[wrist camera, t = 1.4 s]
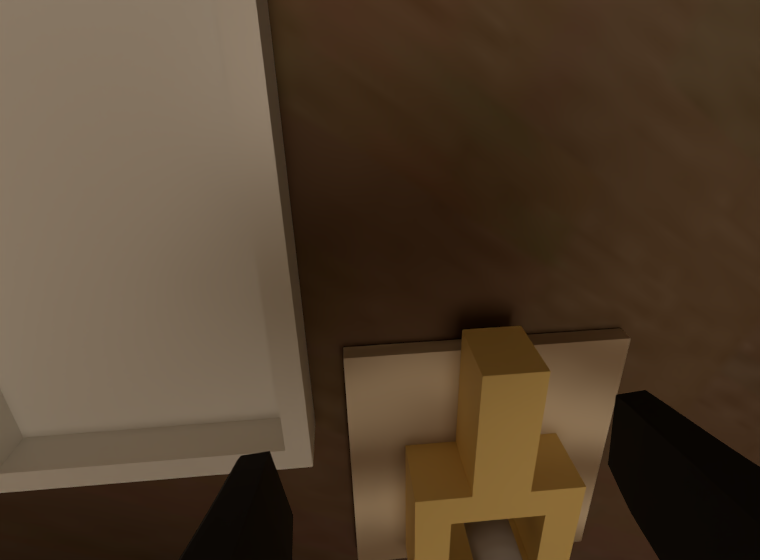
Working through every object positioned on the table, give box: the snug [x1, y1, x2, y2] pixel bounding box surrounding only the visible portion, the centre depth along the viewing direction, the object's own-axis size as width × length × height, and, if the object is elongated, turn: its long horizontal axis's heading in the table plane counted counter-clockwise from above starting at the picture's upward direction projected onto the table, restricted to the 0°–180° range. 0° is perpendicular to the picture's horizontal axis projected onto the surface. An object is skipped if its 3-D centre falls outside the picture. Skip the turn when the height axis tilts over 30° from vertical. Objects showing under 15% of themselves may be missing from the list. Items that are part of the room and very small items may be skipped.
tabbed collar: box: [405, 326, 586, 560], centre depth 21 cm, size 13×7×3 cm, turn 2°
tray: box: [0, 0, 315, 493], centre depth 16 cm, size 19×13×2 cm
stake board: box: [343, 328, 631, 560], centre depth 21 cm, size 13×12×6 cm
